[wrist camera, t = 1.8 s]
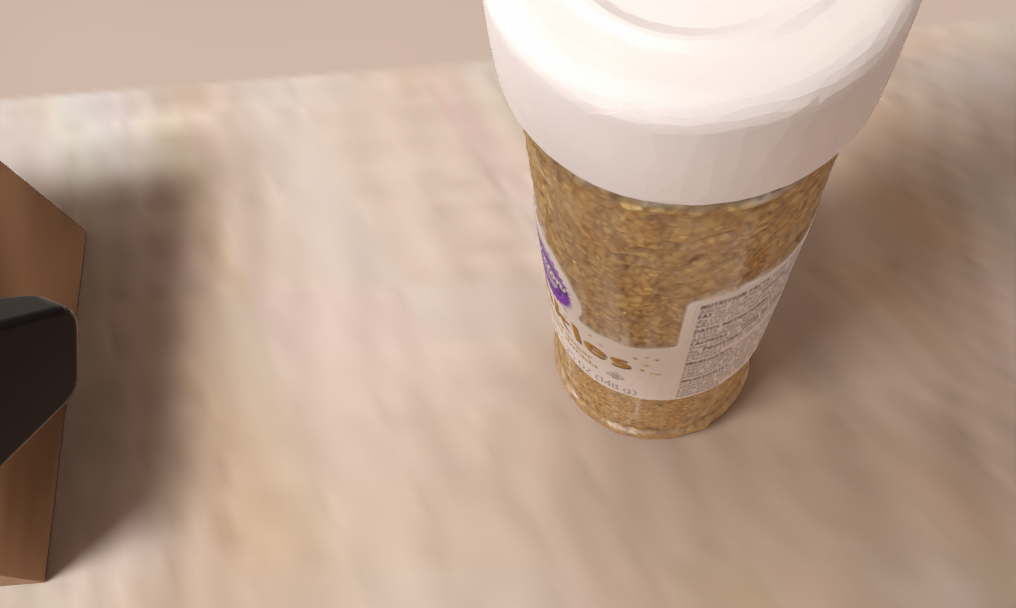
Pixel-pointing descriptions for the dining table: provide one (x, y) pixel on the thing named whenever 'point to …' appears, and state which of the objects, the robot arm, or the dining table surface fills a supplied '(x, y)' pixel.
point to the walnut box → (34, 467)
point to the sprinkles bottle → (680, 178)
